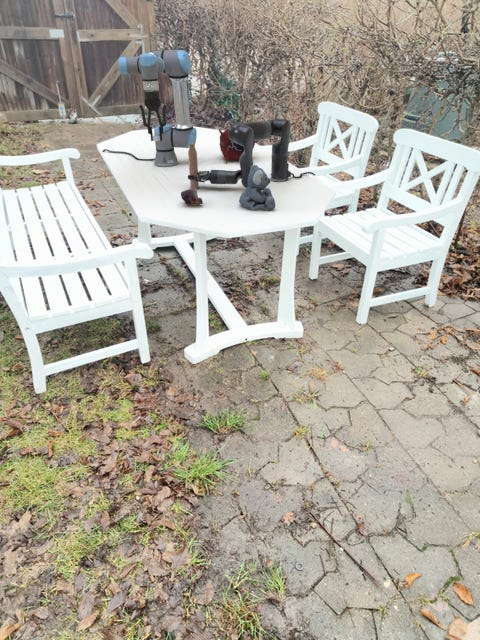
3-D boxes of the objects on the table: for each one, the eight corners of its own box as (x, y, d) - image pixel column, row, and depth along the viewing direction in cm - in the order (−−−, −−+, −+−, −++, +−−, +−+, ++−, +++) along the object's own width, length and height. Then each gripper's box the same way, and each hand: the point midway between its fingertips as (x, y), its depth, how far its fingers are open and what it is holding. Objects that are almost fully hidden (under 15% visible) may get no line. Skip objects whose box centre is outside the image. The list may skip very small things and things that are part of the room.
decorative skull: (216, 132, 306) (216, 129, 283) (250, 124, 306) (252, 120, 282) (223, 164, 313) (223, 164, 290) (256, 156, 312) (259, 156, 289)
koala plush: (276, 211, 223) (277, 171, 212) (240, 212, 222) (240, 172, 211) (271, 199, 237) (272, 161, 226) (237, 200, 236) (237, 162, 225)
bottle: (190, 189, 252) (187, 144, 238) (191, 186, 256) (188, 142, 242) (198, 189, 252) (195, 144, 238) (199, 186, 256) (196, 142, 242)
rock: (196, 202, 238) (178, 205, 233) (194, 185, 234) (176, 188, 230) (205, 205, 228) (187, 208, 224) (203, 188, 224) (185, 191, 220)
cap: (157, 141, 231) (157, 137, 230) (151, 140, 233) (150, 136, 232) (162, 139, 234) (161, 136, 233) (155, 138, 236) (155, 135, 235)
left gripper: (132, 91, 217) (139, 142, 230) (168, 91, 218) (172, 141, 231) (135, 89, 223) (141, 139, 236) (169, 89, 224) (173, 138, 237)
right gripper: (221, 166, 252) (191, 165, 254) (216, 174, 240) (185, 172, 242) (221, 179, 256) (192, 178, 258) (217, 187, 244) (186, 186, 246)
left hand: (156, 140), depth 234 cm, fingers closed on cap, 4 cm apart
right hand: (189, 175), depth 250 cm, fingers closed on bottle, 4 cm apart
